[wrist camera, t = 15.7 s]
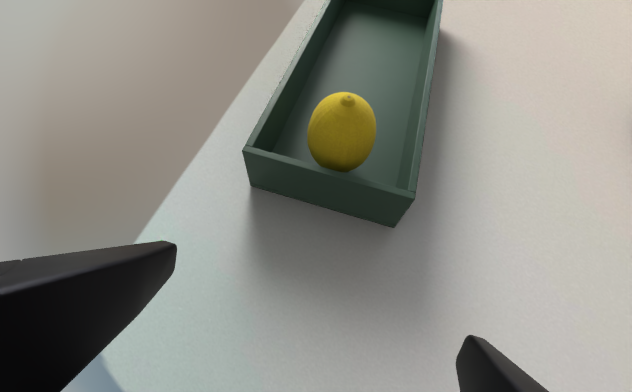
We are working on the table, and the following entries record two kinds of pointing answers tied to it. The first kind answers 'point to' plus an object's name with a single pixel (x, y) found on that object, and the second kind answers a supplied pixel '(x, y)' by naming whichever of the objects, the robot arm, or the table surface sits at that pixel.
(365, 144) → the lemon
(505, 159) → the table surface
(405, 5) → the green rectangular tray
